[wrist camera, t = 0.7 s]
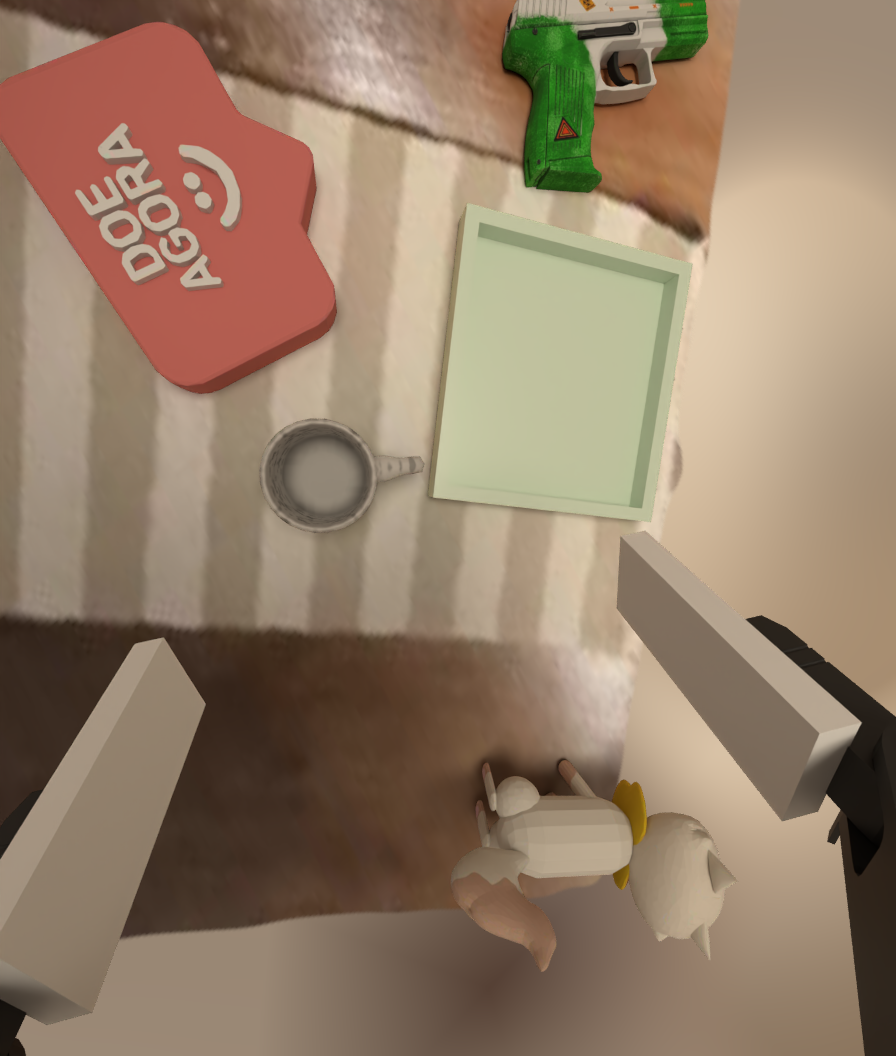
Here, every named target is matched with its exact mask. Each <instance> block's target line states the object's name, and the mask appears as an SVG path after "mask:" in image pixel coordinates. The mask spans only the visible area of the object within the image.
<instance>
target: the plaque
mask: <svg viewBox="0 0 896 1056" xmlns="http://www.w3.org/2000/svg"><path fill="white" fill-rule="evenodd" d="M0 139H1V140H2V142H3V143H4V145H5V146H6V148H7V149H8V151H9V152H10V154H11V155H12V157H13V158H14V160H15V161H16V163H17V164H18V166H19V167H20V168H21V170H22V171H23V173H24V174H25V176H26V177H27V179H28V180H29V182H30V183H31V185H32V186H33V188H34V189H35V191H36V192H37V194H38V195H39V197H40V198H41V200H42V201H43V203H44V204H45V206H46V207H47V209H48V210H49V212H50V213H51V215H52V216H53V218H54V219H55V221H56V222H57V224H58V225H59V227H60V228H61V230H62V231H63V233H64V234H65V236H66V237H67V239H68V240H69V241H70V243H71V244H72V246H73V247H74V249H75V250H76V252H77V253H78V255H79V256H80V258H81V259H82V261H83V262H84V264H85V265H86V267H87V268H88V270H89V271H90V273H91V274H92V276H93V277H94V279H95V280H96V282H97V283H98V285H99V286H100V288H101V289H102V291H103V292H104V294H105V295H106V297H107V298H108V300H109V301H110V303H111V304H112V306H113V307H114V309H115V310H116V312H117V313H118V314H119V316H120V317H121V319H122V320H123V322H124V323H125V325H126V326H127V328H128V329H129V331H130V332H131V334H132V335H133V337H134V338H135V340H136V341H137V343H138V344H139V346H140V347H141V349H142V350H143V352H144V353H145V355H146V356H147V358H148V359H149V361H150V362H151V364H152V365H153V367H154V368H155V370H156V371H157V372H158V373H160V374H161V375H162V376H163V377H165V378H166V379H167V380H168V381H170V382H171V383H173V384H175V385H177V386H179V387H181V388H183V389H185V390H188V391H191V392H195V393H200V394H203V393H211V392H214V391H217V390H220V389H222V388H224V387H226V386H228V385H230V384H232V383H234V382H236V381H237V380H239V379H241V378H243V377H245V376H247V375H249V374H251V373H253V372H255V371H257V370H259V369H261V368H263V367H265V366H266V365H268V364H270V363H272V362H274V361H276V360H278V359H280V358H282V357H284V356H286V355H288V354H290V353H292V352H294V351H295V350H297V349H299V348H301V347H303V346H305V345H307V344H309V343H311V342H313V341H315V340H317V339H319V338H320V337H322V336H323V335H324V334H325V333H327V332H328V331H329V329H330V328H331V326H332V325H333V323H334V320H335V317H336V313H337V309H336V300H335V291H334V285H333V283H332V281H331V279H330V277H329V275H328V273H327V272H326V270H325V268H324V266H323V264H322V262H321V260H320V259H319V257H318V255H317V253H316V251H315V249H314V247H313V246H312V244H311V242H310V240H309V238H308V236H307V232H308V227H309V222H310V217H311V212H312V208H313V203H314V198H315V193H316V180H315V172H314V162H313V154H312V152H311V151H310V149H309V147H308V146H306V145H305V144H304V143H303V142H301V141H299V140H296V139H294V138H292V137H290V136H288V135H285V134H283V133H281V132H279V131H276V130H274V129H272V128H270V127H268V126H265V125H263V124H261V123H259V122H256V121H254V120H252V119H250V118H248V117H245V116H243V115H241V114H240V113H239V112H238V111H237V110H236V108H235V106H234V104H233V103H232V101H231V99H230V97H229V96H228V94H227V92H226V90H225V88H224V87H223V85H222V83H221V81H220V80H219V78H218V76H217V74H216V72H215V71H214V69H213V67H212V65H211V64H210V62H209V60H208V58H207V57H206V55H205V53H204V51H203V49H202V48H201V46H200V44H199V43H198V42H197V41H196V40H195V39H194V38H193V37H192V36H191V35H190V34H189V33H188V32H187V31H186V30H183V29H181V28H179V27H177V26H175V25H172V24H168V23H164V22H154V23H145V24H143V25H140V26H138V27H135V28H133V29H130V30H128V31H125V32H123V33H120V34H118V35H115V36H113V37H110V38H108V39H105V40H103V41H100V42H98V43H95V44H93V45H90V46H88V47H85V48H83V49H80V50H78V51H75V52H72V53H70V54H67V55H65V56H62V57H60V58H57V59H55V60H52V61H50V62H47V63H45V64H42V65H40V66H37V67H35V68H32V69H30V70H27V71H25V72H22V73H20V74H17V75H15V76H12V77H10V78H8V79H6V80H5V81H4V82H3V83H1V84H0Z"/></svg>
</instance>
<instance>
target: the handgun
mask: <svg viewBox="0 0 896 1056" xmlns="http://www.w3.org/2000/svg"><path fill="white" fill-rule="evenodd" d="M707 18H708V15H707V14H706V2H705V0H517V1H516V3H515V5H514V8H513V11H512V13H511V14H510V17H509V20H508V24H507V26H506V32H505V39H504V45H503V53H502V56H503V63H504V67H505V69H507V70H511V71H514V72H516V73H518V74H520V75H522V76H523V77H524V78H525V79H526V80H527V81H528V83H529V84H530V86H531V88H532V90H533V103H532V107H531V112H530V116H529V121H528V126H527V131H526V140H525V153H524V168H525V182H526V187H532V186H533V187H535V186H536V189H544V190H558V191H572V192H590V191H592V190H593V189H594V188H595V187H596V186H597V185H598V184H599V183H600V182H601V180H602V176H601V173H600V172H599V171H597V170H596V169H595V168H594V166H593V162H592V158H591V137H592V131H593V127H594V114H593V112H594V103H599V104H616V103H624V102H629V101H633V100H637V99H641V98H644V97H646V95H647V94H648V93H649V92H650V91H651V89H652V88H653V87H654V86H655V85H656V79H655V76H654V72H653V68H652V63H651V61H662V60H672V59H683V58H691V57H694V56H695V54H696V53H697V52H698V51H699V50H700V49H701V47H702V46H703V45H704V44H705V43H706V41H707V38H708V29H707ZM631 63H634V64H635V65H636V66H637V70H638V76H639V84H640V85H636V84H631V83H632V82H633V80H627V79H625V78H624V77H623V75H622V74H621V72H620V69H619V67H622V66H623V65H625V64H631ZM605 68H607V70H608V74H609V77H610V79H611V80H612V81H613V83H614V84H615V85H617V86H619V87H610V86H607V85H606V84H605V83H604V82H603V80H602V78H601V74H600V69H605Z"/></svg>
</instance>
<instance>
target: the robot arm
mask: <svg viewBox="0 0 896 1056" xmlns="http://www.w3.org/2000/svg"><path fill="white" fill-rule="evenodd" d="M617 609H618V611H619V612H620V613H621V614H622V616H623V617H624V618H625V620H626V621H627V622H628V623H629V625H630V626H631V627H632V629H633V630H634V631H635V632H636V634H637V635H638V636H639V638H640V639H641V640H642V641H643V643H644V644H645V645H646V646H647V648H648V649H649V650H650V652H651V653H652V654H653V656H654V657H655V658H656V659H657V661H658V662H659V663H660V664H661V666H662V667H663V668H664V670H665V671H666V672H667V674H668V675H669V676H670V678H671V679H672V680H673V681H674V683H675V684H676V685H677V686H678V688H679V689H680V690H681V692H682V693H683V694H684V696H685V697H686V698H687V699H688V701H689V702H690V703H691V705H692V706H693V707H694V708H695V710H696V711H697V712H698V713H699V715H700V716H701V717H702V719H703V720H704V721H705V723H706V724H707V725H708V726H709V728H710V729H711V730H712V732H713V733H714V734H715V735H716V736H717V738H718V739H719V741H720V742H721V743H722V745H723V746H724V747H725V748H726V750H727V751H728V752H729V754H730V755H731V756H732V757H733V759H734V760H735V761H736V763H737V764H738V765H739V766H740V768H741V769H742V770H743V772H744V773H745V774H746V775H747V777H748V778H749V779H750V780H751V782H752V783H753V784H754V786H755V787H756V788H757V790H758V791H759V792H760V793H761V795H762V796H763V797H764V799H765V800H766V801H767V802H768V804H769V805H770V806H771V807H772V809H773V810H774V811H775V813H776V814H777V815H778V817H779V818H780V819H781V820H782V821H785V820H789V819H792V818H796V817H800V816H803V815H807V814H810V813H814V812H818V810H819V808H820V806H821V804H822V802H823V800H824V798H825V796H826V794H827V795H828V796H829V797H830V798H831V799H832V801H833V802H834V803H835V804H836V805H837V806H838V807H839V808H840V809H841V810H840V812H839V814H838V816H837V818H836V820H835V822H834V823H833V825H832V827H831V829H830V831H829V836H828V841H827V842H830V843H832V844H835V843H836V841H837V839H838V838H839V836H840V839H841V849H842V857H843V865H844V875H845V884H846V893H847V902H848V910H849V919H850V928H851V937H852V945H853V954H854V963H855V972H856V981H857V989H858V999H859V1008H860V1016H861V1025H862V1034H863V1043H864V1052H865V1056H896V717H895V716H894V715H893V714H892V713H890V712H889V711H888V710H886V709H885V708H884V707H883V706H882V705H880V704H879V703H878V702H876V700H874V699H873V698H872V697H871V696H870V695H868V694H867V693H866V692H865V691H863V690H862V689H861V688H860V687H859V686H857V685H856V684H855V683H854V682H852V681H851V680H850V679H849V678H848V677H846V676H845V675H844V674H843V673H841V672H840V671H839V670H838V669H837V668H835V667H834V666H833V665H832V664H830V663H829V662H825V660H824V658H823V657H822V656H821V655H819V654H818V653H817V652H816V651H815V650H813V649H812V648H808V646H807V644H806V643H805V642H804V641H802V640H801V639H800V638H799V637H797V636H796V635H795V634H794V633H793V632H791V631H790V630H789V629H788V628H786V627H784V626H782V625H780V624H778V623H776V622H774V621H772V620H770V619H768V618H766V617H764V616H762V615H761V616H756V617H752V618H748V619H744V618H743V617H742V616H741V615H740V614H739V613H738V612H736V611H735V610H734V609H733V608H732V607H731V606H730V605H728V604H727V603H726V602H725V601H724V600H723V599H722V598H721V597H719V596H718V595H717V594H716V593H715V592H714V591H713V590H712V589H710V588H709V587H708V586H707V585H706V584H705V583H704V582H702V581H701V580H700V579H699V578H698V577H697V576H696V575H695V574H693V573H692V572H691V571H690V570H689V569H688V568H687V567H686V566H684V565H683V564H682V563H681V562H680V561H679V560H678V559H677V558H675V557H674V556H673V555H672V554H671V553H670V552H669V551H667V550H666V549H665V548H664V547H663V546H662V545H661V544H660V543H658V542H657V541H656V540H655V539H654V538H653V537H652V536H651V535H649V534H648V533H647V532H646V531H642V532H637V533H633V534H628V535H624V536H621V537H620V556H619V574H618V593H617ZM205 705H206V704H205V702H204V701H203V699H202V697H201V696H200V694H199V693H198V691H197V690H196V688H195V686H194V685H193V683H192V682H191V680H190V678H189V677H188V675H187V674H186V672H185V671H184V669H183V667H182V666H181V664H180V663H179V661H178V659H177V658H176V656H175V655H174V653H173V652H172V650H171V648H170V647H169V645H168V644H167V642H166V640H165V639H164V638H159V639H155V640H150V641H146V642H141V643H136V644H134V646H133V648H132V649H131V651H130V652H129V654H128V656H127V657H126V659H125V660H124V662H123V664H122V665H121V667H120V668H119V670H118V672H117V673H116V675H115V676H114V678H113V680H112V681H111V683H110V684H109V686H108V688H107V689H106V691H105V692H104V694H103V696H102V697H101V699H100V700H99V702H98V704H97V705H96V707H95V708H94V710H93V712H92V713H91V715H90V716H89V718H88V720H87V721H86V723H85V725H84V726H83V728H82V729H81V731H80V733H79V734H78V736H77V737H76V739H75V741H74V742H73V744H72V745H71V747H70V749H69V750H68V752H67V753H66V755H65V757H64V758H63V760H62V761H61V763H60V765H59V766H58V768H57V769H56V771H55V773H54V774H53V776H52V777H51V779H50V781H49V782H48V784H47V785H46V787H45V789H43V790H39V791H35V792H32V793H31V794H30V795H29V796H28V797H27V798H26V799H25V800H24V801H23V802H22V803H21V804H20V805H19V806H18V807H17V808H16V809H15V810H14V811H13V812H12V813H11V814H10V815H9V817H8V818H7V819H6V820H5V821H4V823H3V824H2V826H1V827H0V1056H26V1054H25V1049H24V1048H23V1046H22V1044H21V1042H20V1041H19V1039H16V1038H15V1037H16V1035H17V1033H18V1031H19V1029H20V1026H21V1024H22V1022H23V1020H24V1017H25V1015H28V1016H30V1017H32V1018H34V1019H36V1020H38V1021H40V1022H42V1023H44V1024H46V1025H49V1024H53V1023H56V1022H60V1021H63V1020H67V1019H71V1018H74V1017H78V1016H82V1015H85V1014H89V1013H92V1012H93V1009H94V1006H95V1003H96V1001H97V998H98V995H99V993H100V990H101V987H102V984H103V982H104V979H105V976H106V974H107V971H108V968H109V965H110V963H111V960H112V957H113V955H114V952H115V949H116V946H117V944H118V941H119V938H120V936H121V933H122V930H123V927H124V925H125V922H126V919H127V917H128V914H129V911H130V908H131V906H132V903H133V900H134V898H135V895H136V892H137V889H138V887H139V884H140V881H141V879H142V876H143V873H144V870H145V868H146V865H147V862H148V860H149V857H150V854H151V851H152V849H153V846H154V843H155V841H156V838H157V835H158V832H159V830H160V827H161V824H162V821H163V819H164V816H165V813H166V811H167V808H168V805H169V802H170V800H171V797H172V794H173V792H174V789H175V786H176V783H177V781H178V778H179V775H180V773H181V770H182V767H183V764H184V762H185V759H186V756H187V754H188V751H189V748H190V745H191V743H192V740H193V737H194V735H195V732H196V729H197V726H198V724H199V721H200V718H201V716H202V713H203V710H204V707H205Z"/></svg>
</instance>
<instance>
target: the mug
mask: <svg viewBox="0 0 896 1056" xmlns="http://www.w3.org/2000/svg"><path fill="white" fill-rule="evenodd" d="M423 467H424V462H423V461H422V459H421V457H407V458H395V457H389V456H375V457H373V455H372V453H371V451H370V449H369V447H368V445H367V444H366V443H365V442H364V440H363V439H362V438H361V437H360V436H359V435H358V434H357V433H356V432H355V431H353V430H352V429H350V428H349V427H347V426H345V425H343V424H341V423H339V422H335V421H331V420H327V419H307V420H302V421H298V422H295V423H293V424H291V425H289V426H287V427H285V428H284V429H282V430H281V431H280V432H278V433H277V434H276V435H275V436H274V437H273V438H272V439H271V441H270V442H269V444H268V445H267V447H266V449H265V451H264V453H263V456H262V459H261V464H260V485H261V488H262V491H263V494H264V497H265V499H266V501H267V502H268V504H269V506H270V507H271V509H272V510H273V511H274V512H275V513H276V514H277V516H278V517H280V518H281V519H282V520H283V521H285V522H286V523H288V524H289V525H291V526H293V527H296V528H298V529H301V530H304V531H309V532H314V533H320V532H332V531H335V530H339V529H343V528H345V527H346V526H348V525H350V524H352V523H354V522H355V521H356V520H357V519H359V518H360V517H361V516H362V515H363V514H364V513H365V511H366V510H367V509H368V507H369V506H370V504H371V502H372V500H373V497H374V495H375V491H376V486H377V482H382V481H388V480H390V479H393V478H395V477H397V476H400V475H404V474H413V473H418V472H422V470H423Z"/></svg>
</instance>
